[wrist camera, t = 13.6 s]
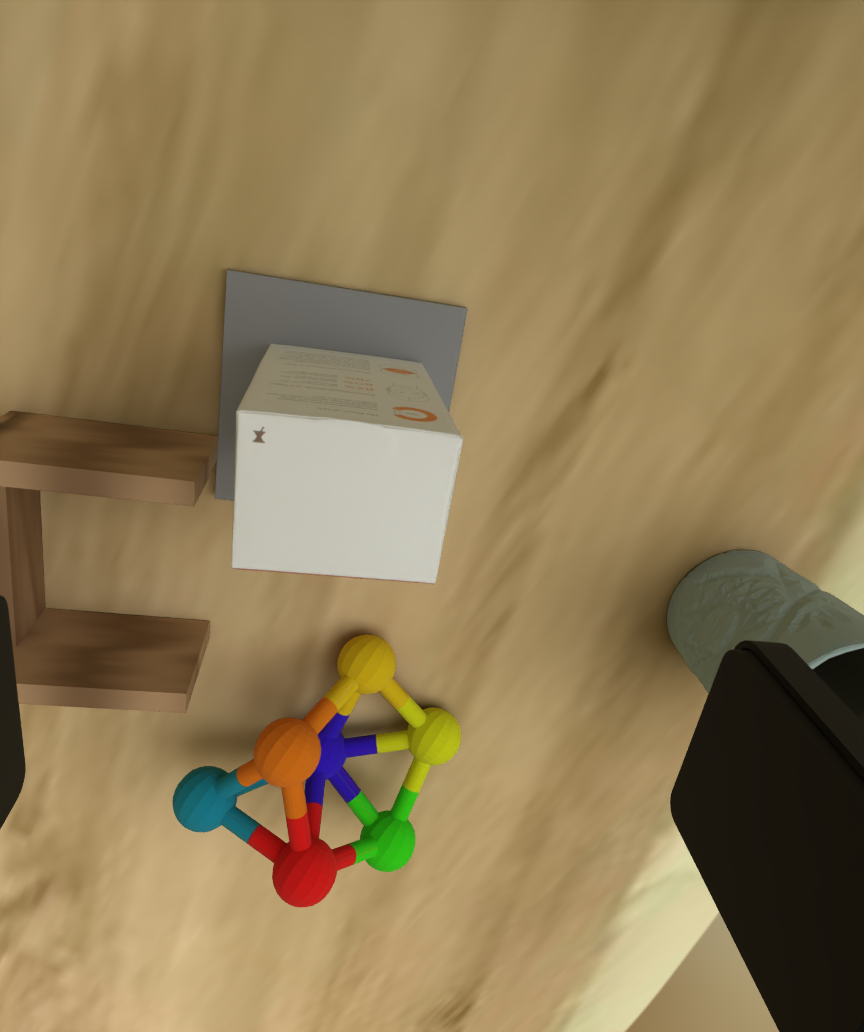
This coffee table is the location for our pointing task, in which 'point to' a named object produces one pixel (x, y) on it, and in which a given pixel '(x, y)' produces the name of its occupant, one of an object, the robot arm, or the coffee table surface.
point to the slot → (80, 634)
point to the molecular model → (315, 758)
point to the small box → (342, 467)
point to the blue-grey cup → (766, 620)
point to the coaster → (324, 338)
